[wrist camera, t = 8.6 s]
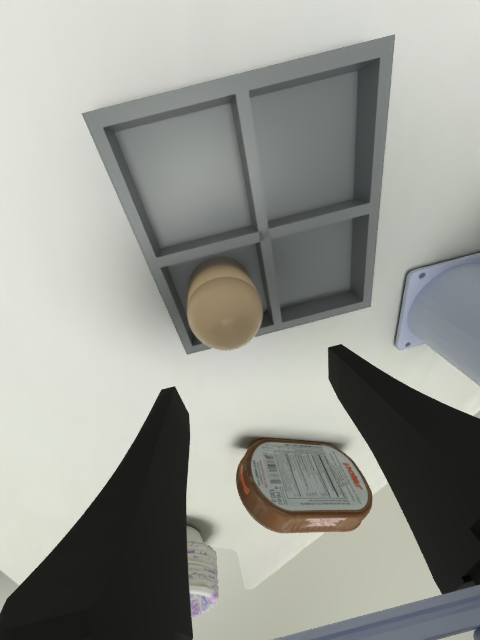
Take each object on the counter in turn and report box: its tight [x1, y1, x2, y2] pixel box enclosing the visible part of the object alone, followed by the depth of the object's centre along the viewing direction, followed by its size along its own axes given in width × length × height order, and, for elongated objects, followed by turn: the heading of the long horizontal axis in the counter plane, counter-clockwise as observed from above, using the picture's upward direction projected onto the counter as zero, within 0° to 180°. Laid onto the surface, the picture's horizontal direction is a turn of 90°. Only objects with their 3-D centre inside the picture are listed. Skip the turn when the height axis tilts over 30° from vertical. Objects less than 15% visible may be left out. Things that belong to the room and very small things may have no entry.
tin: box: [236, 438, 372, 533], centre depth 27 cm, size 15×3×8 cm, turn 71°
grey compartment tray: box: [82, 35, 395, 354], centre depth 15 cm, size 14×14×2 cm
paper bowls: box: [187, 526, 218, 618], centre depth 35 cm, size 15×15×8 cm
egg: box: [187, 257, 263, 350], centre depth 15 cm, size 4×4×6 cm
